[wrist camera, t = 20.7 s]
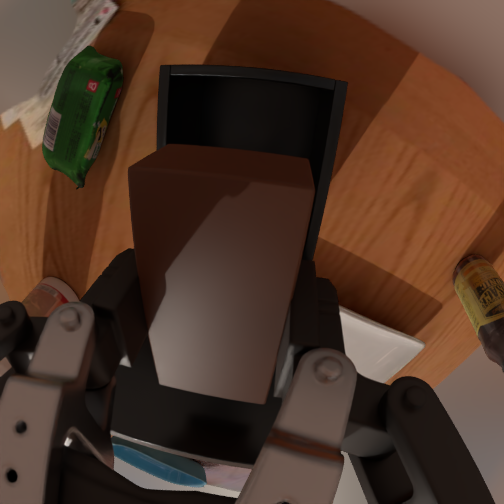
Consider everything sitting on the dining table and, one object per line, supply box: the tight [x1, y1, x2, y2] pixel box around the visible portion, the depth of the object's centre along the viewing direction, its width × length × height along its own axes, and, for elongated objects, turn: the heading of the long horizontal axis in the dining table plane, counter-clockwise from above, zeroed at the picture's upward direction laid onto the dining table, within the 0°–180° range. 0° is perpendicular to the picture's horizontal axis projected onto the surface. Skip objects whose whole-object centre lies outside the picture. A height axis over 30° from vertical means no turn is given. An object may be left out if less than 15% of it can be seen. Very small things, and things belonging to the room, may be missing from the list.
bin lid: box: [111, 334, 282, 469], centre depth 19 cm, size 16×13×6 cm
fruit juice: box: [0, 277, 79, 377], centre depth 33 cm, size 9×9×28 cm
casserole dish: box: [111, 436, 207, 487], centre depth 76 cm, size 37×22×7 cm, turn 45°
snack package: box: [42, 46, 123, 190], centre depth 26 cm, size 7×16×5 cm, turn 151°
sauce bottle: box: [453, 255, 504, 372], centre depth 25 cm, size 7×6×20 cm
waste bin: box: [157, 65, 348, 261], centre depth 25 cm, size 15×13×10 cm
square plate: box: [338, 304, 425, 383], centre depth 43 cm, size 27×27×4 cm
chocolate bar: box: [128, 144, 315, 404], centre depth 9 cm, size 8×4×2 cm, turn 175°
